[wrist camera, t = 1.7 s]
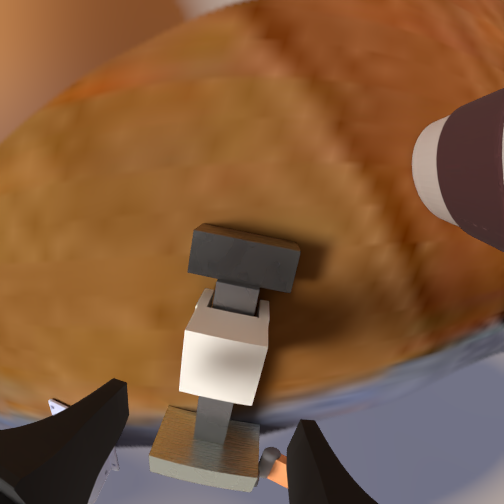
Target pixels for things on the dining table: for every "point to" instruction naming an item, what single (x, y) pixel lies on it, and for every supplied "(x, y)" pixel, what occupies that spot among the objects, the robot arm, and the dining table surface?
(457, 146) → the coffee cup
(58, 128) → the dining table surface
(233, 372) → the carriage
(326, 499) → the robot arm
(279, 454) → the lever
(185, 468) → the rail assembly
